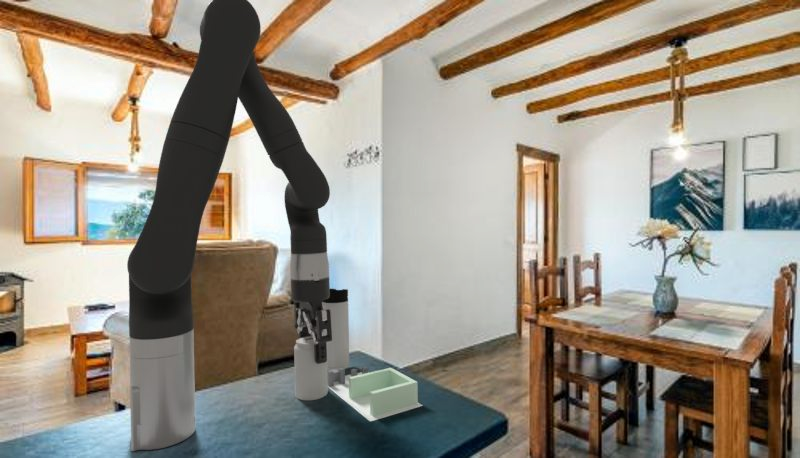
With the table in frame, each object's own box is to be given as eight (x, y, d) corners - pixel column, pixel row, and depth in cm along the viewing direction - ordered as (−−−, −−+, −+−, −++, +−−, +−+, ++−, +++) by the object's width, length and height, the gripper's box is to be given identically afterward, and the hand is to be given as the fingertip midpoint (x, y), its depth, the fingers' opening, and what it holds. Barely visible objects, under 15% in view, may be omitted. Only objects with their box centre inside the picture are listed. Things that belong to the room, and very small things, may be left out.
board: (370, 428, 71) (369, 403, 70) (321, 386, 89) (320, 367, 89) (422, 411, 76) (422, 389, 76) (366, 376, 95) (366, 357, 95)
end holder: (373, 416, 72) (372, 393, 72) (349, 397, 80) (348, 377, 80) (417, 403, 77) (417, 382, 77) (391, 386, 85) (390, 367, 85)
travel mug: (317, 375, 96) (316, 288, 96) (329, 365, 102) (327, 284, 102) (342, 377, 95) (341, 289, 94) (353, 367, 101) (351, 285, 101)
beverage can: (331, 393, 86) (330, 335, 85) (322, 407, 79) (321, 344, 79) (301, 392, 86) (300, 334, 86) (290, 406, 80) (289, 343, 80)
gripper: (280, 274, 86) (283, 351, 87) (304, 281, 74) (307, 371, 75) (314, 270, 90) (317, 344, 91) (342, 277, 78) (345, 362, 79)
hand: (312, 356), depth 83 cm, fingers open, 8 cm apart
